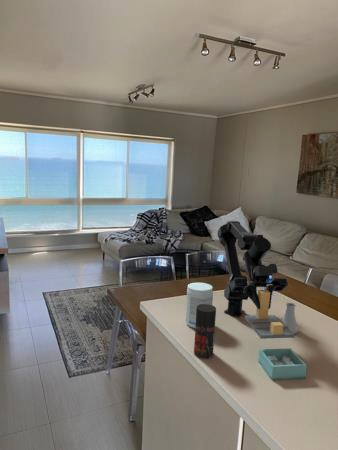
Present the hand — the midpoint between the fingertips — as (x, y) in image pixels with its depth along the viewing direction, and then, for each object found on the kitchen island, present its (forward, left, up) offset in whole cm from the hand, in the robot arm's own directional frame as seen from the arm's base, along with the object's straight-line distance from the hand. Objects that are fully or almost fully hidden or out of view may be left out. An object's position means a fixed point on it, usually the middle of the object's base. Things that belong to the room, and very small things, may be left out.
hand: (264, 308), depth 107 cm
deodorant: (+17, -12, -13) cm, 25 cm away
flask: (-18, +4, -13) cm, 23 cm away
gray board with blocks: (+3, +3, -5) cm, 6 cm away
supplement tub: (0, -24, -13) cm, 28 cm away
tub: (+10, +10, -13) cm, 19 cm away
